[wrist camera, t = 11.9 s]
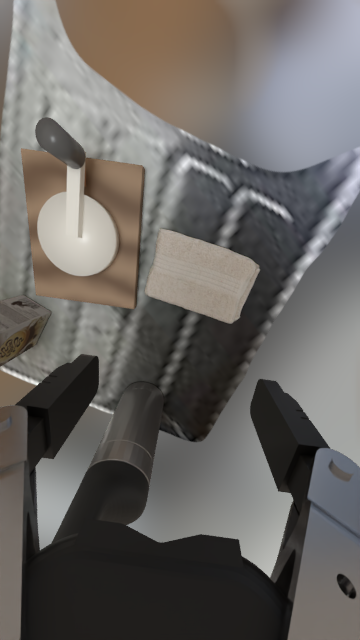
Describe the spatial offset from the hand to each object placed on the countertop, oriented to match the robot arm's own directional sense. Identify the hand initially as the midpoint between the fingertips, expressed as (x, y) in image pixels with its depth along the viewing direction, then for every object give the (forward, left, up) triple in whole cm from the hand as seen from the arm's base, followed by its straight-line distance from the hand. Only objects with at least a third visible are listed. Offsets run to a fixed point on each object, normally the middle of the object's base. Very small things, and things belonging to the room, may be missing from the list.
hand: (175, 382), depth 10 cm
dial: (+9, +18, -26) cm, 33 cm away
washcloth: (+2, -2, -29) cm, 29 cm away
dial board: (+6, +18, -28) cm, 34 cm away
